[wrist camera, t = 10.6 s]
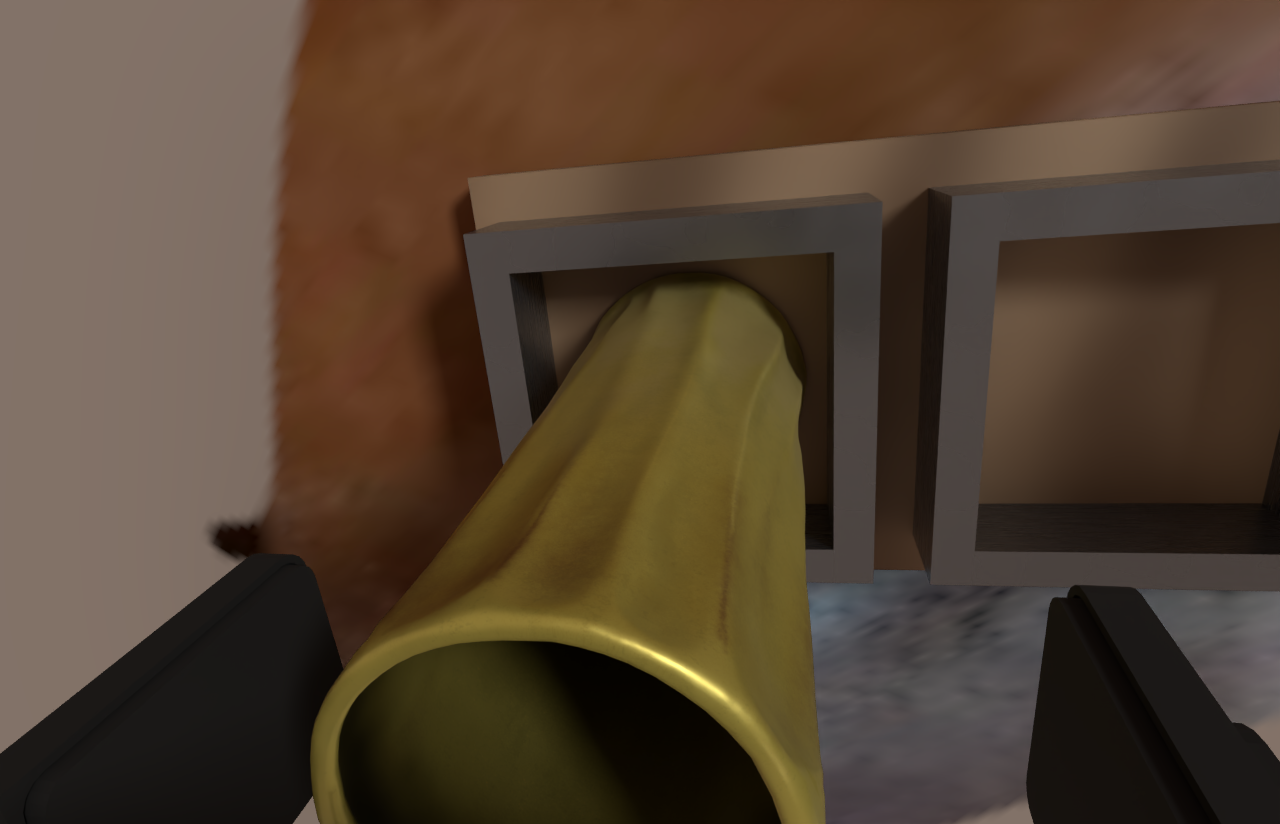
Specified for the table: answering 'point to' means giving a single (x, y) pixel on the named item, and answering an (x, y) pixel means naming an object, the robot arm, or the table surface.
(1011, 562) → the two-cubby wall shelf
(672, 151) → the table surface
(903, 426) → the board
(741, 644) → the vase
